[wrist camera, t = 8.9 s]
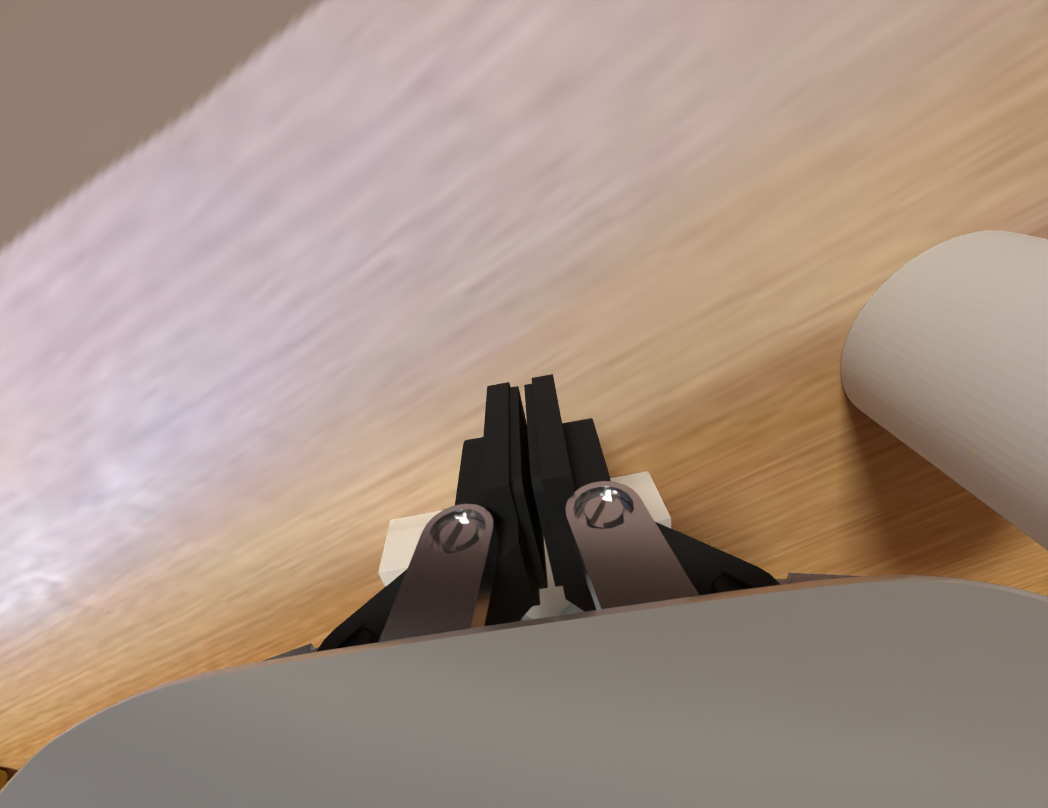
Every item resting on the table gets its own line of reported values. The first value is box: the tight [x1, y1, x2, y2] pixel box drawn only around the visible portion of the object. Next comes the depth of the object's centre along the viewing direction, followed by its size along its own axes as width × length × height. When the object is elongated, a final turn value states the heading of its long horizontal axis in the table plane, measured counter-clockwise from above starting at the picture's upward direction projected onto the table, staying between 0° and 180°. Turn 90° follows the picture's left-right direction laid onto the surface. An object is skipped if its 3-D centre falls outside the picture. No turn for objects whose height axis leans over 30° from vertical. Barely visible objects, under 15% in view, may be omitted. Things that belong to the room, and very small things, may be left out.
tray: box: [378, 471, 671, 619], centre depth 24 cm, size 12×16×3 cm
